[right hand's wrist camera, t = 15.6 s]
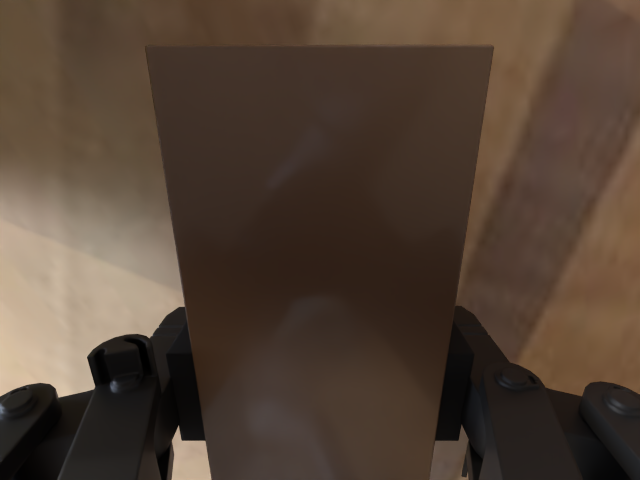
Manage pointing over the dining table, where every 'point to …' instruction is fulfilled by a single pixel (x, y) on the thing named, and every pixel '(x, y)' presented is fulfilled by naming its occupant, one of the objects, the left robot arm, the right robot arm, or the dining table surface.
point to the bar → (319, 245)
